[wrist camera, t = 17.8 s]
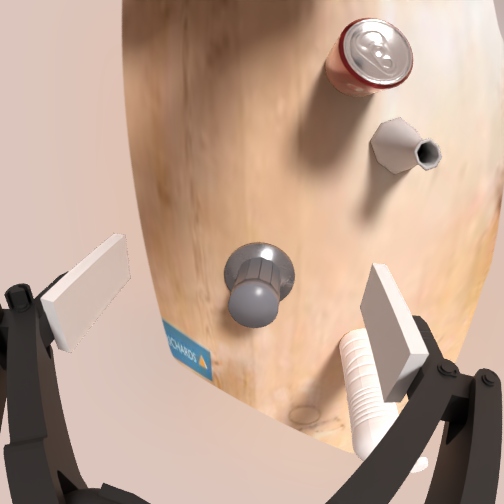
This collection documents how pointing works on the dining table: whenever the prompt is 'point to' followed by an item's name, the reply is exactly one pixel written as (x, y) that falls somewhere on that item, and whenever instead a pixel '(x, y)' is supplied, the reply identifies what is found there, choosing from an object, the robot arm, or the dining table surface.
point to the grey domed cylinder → (256, 293)
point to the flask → (403, 147)
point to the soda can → (369, 58)
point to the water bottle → (366, 396)
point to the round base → (262, 251)
